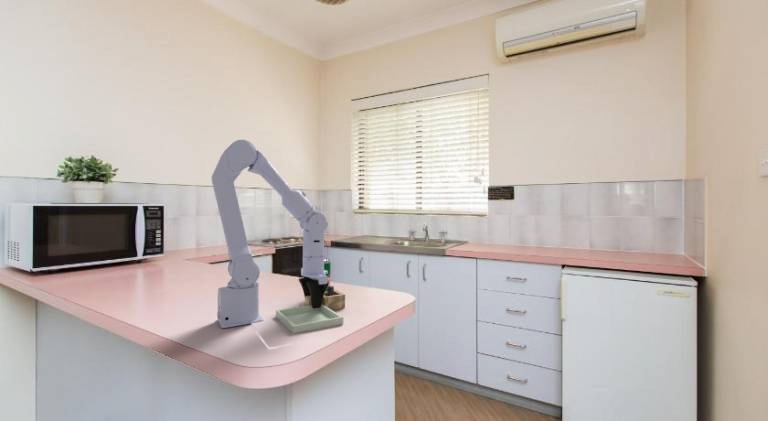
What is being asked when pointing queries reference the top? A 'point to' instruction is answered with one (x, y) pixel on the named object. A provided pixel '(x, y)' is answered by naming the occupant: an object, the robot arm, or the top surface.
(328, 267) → the soda can
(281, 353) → the top surface
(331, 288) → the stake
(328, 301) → the tan frame with handle
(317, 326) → the tray
